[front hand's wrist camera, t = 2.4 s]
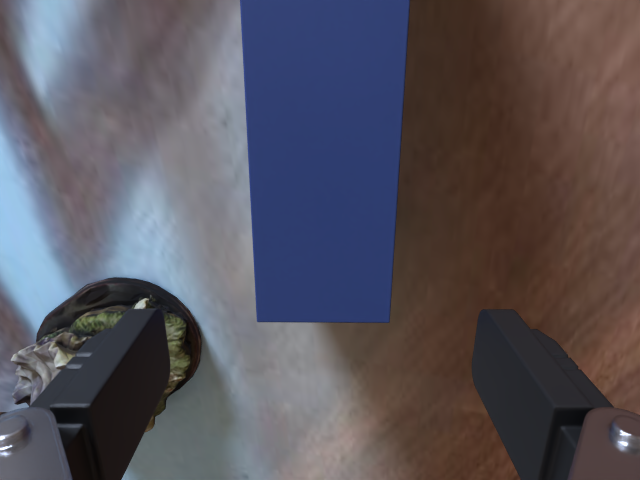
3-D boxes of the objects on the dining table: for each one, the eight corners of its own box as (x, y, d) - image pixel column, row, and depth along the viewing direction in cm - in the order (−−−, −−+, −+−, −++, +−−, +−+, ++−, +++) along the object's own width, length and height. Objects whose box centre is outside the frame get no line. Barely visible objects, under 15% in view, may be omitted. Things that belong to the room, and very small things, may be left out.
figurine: (70, 420, 34) (-108, 662, 20) (11, 295, 30) (-258, 483, 16) (221, 397, 33) (145, 633, 19) (178, 265, 30) (47, 437, 15)
